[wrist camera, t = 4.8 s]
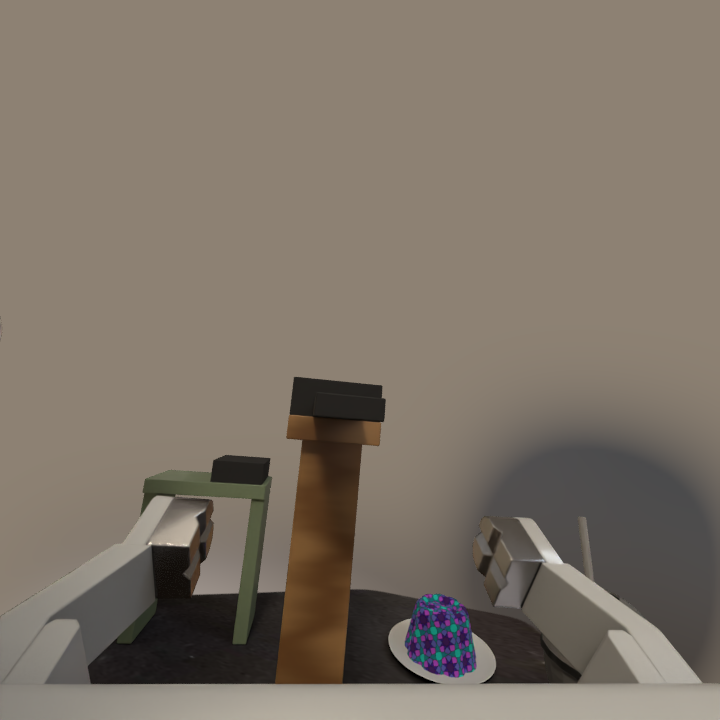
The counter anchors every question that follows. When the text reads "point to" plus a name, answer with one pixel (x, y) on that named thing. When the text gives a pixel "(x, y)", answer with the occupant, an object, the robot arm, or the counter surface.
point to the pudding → (442, 643)
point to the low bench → (201, 486)
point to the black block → (240, 470)
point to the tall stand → (321, 548)
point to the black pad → (337, 400)
